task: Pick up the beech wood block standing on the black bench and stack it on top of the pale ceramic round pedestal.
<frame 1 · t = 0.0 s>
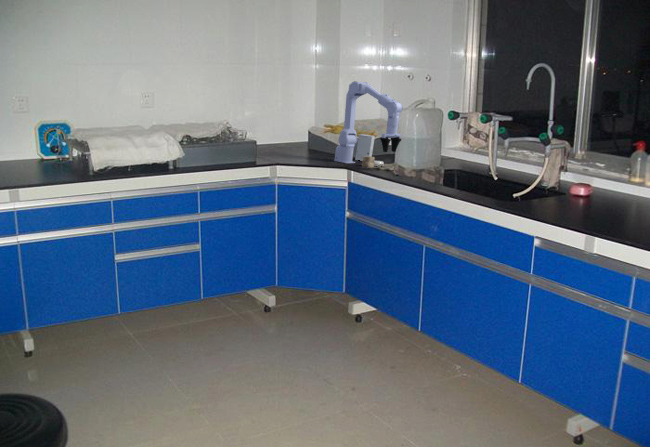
hand: (389, 151, 354), 10 cm above the counter, tool pointing down, fingers open, 7 cm apart
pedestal: (376, 165, 372), on the counter
beech block: (367, 166, 365), on the counter
skincare box: (363, 161, 389), on the counter
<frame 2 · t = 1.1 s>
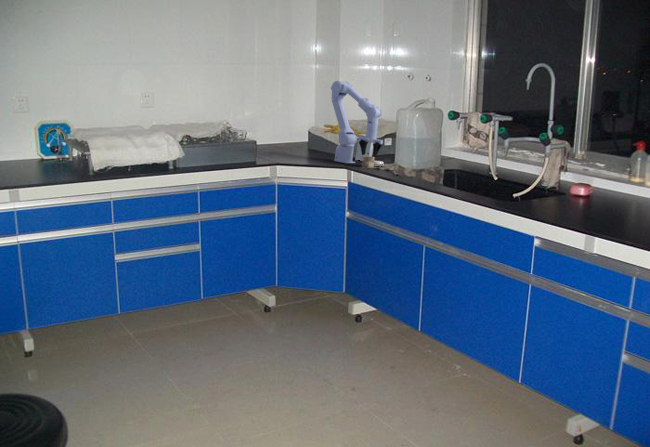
hand: (369, 155, 364), 6 cm above the counter, tool pointing down, fingers open, 7 cm apart
nothing on the counter moved.
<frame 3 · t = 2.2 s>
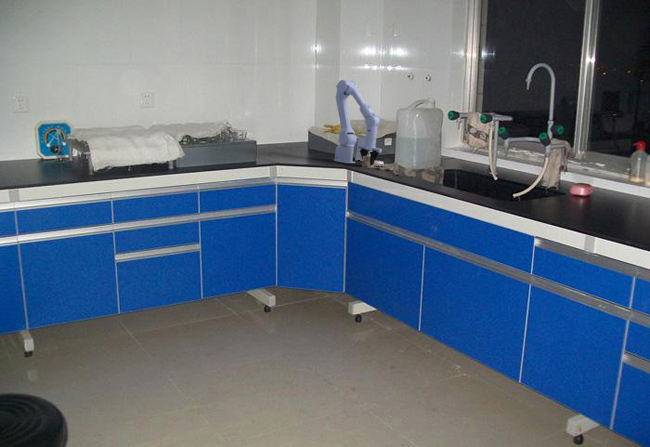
hand: (367, 164, 365), 1 cm above the counter, tool pointing down, fingers closed on beech block, 4 cm apart
beech block: (367, 166, 365), on the counter, touching gripper
everything else where it was.
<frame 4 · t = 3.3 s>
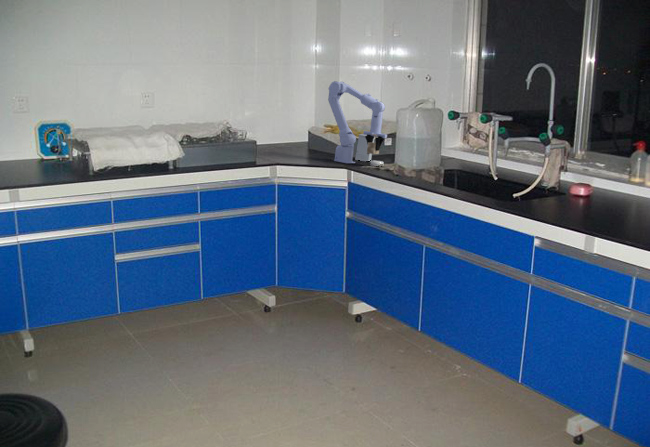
hand: (373, 149, 366), 9 cm above the counter, tool pointing down, fingers closed on beech block, 4 cm apart
beech block: (372, 153, 366), point 7 cm above the counter, touching gripper
everything else where it was.
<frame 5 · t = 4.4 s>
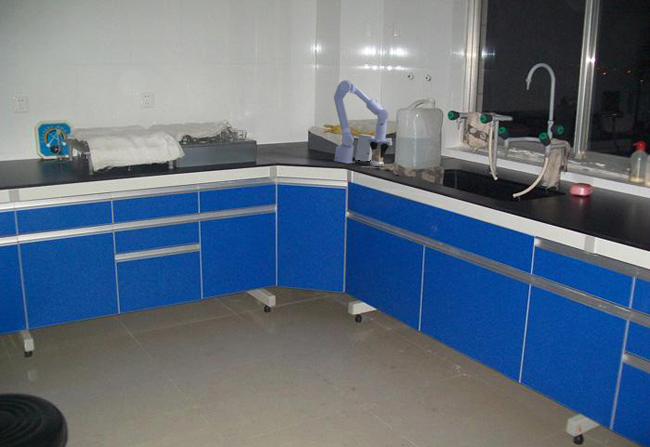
hand: (377, 156, 371), 5 cm above the counter, tool pointing down, fingers closed on beech block, 4 cm apart
beech block: (377, 160, 371), point 3 cm above the counter, touching gripper
everything else where it was.
when the fingers open (5 cm above the counter, at t = 4.8 s): beech block stays where it is, resting on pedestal.
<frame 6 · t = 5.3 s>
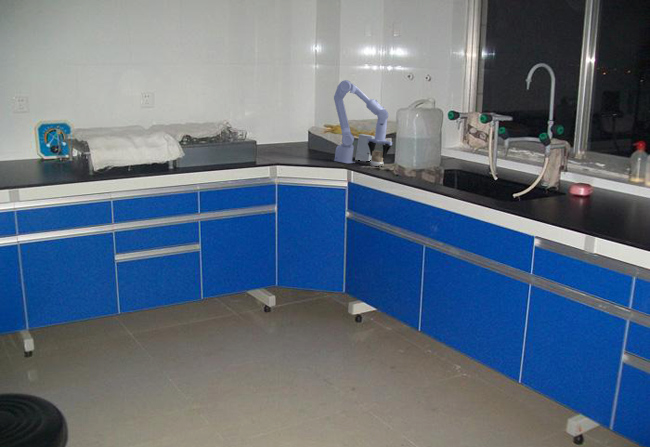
hand: (377, 156, 371), 5 cm above the counter, tool pointing down, fingers open, 7 cm apart
beech block: (377, 161, 372), point 2 cm above the counter, touching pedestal
everything else where it was.
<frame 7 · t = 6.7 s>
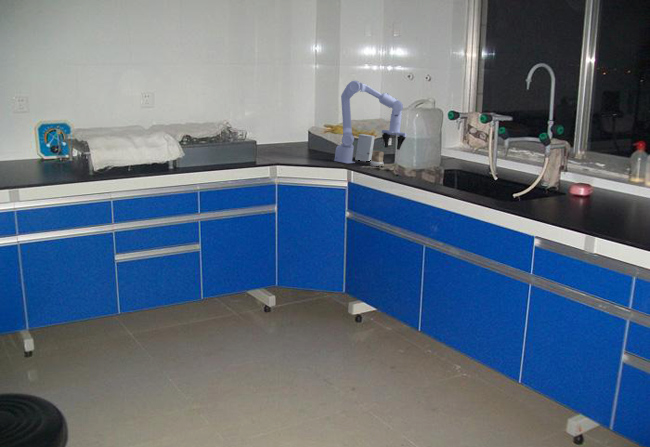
hand: (392, 148, 369), 10 cm above the counter, tool pointing down, fingers open, 7 cm apart
nothing on the counter moved.
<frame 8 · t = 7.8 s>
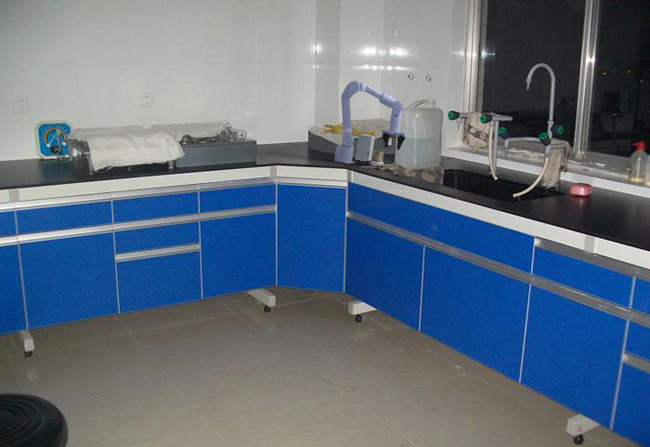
hand: (392, 148, 369), 10 cm above the counter, tool pointing down, fingers open, 7 cm apart
nothing on the counter moved.
at the end: beech block 0.3 cm off-centre on the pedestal, point 2.5 cm above the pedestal's base; beech block tilted 0°; the gripper is holding nothing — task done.
